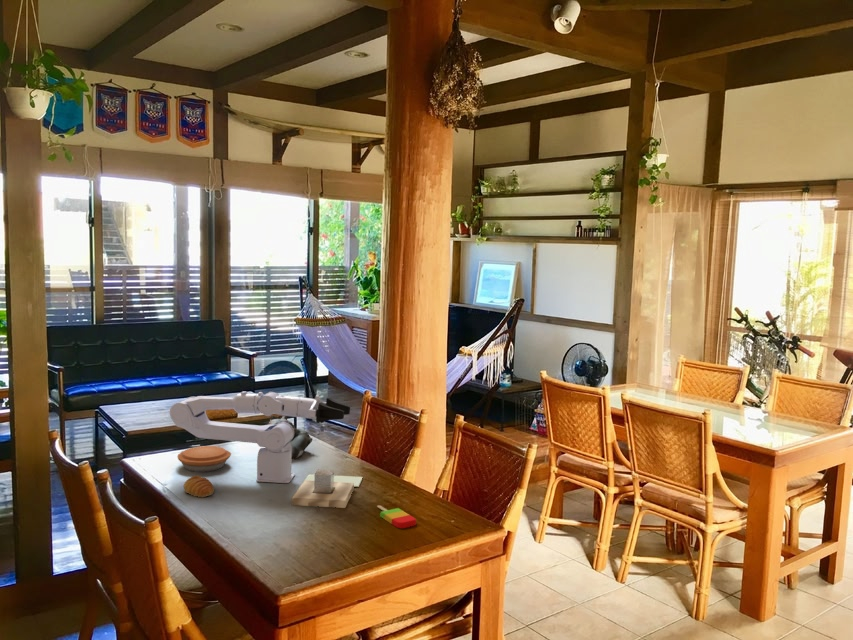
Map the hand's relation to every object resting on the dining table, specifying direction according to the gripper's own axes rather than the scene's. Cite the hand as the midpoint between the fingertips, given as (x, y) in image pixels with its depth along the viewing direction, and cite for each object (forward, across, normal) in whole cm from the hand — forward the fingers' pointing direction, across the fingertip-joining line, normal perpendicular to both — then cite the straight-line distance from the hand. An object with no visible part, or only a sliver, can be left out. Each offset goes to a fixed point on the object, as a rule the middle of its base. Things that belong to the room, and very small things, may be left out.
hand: (346, 412), depth 202 cm
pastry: (-36, -13, +24) cm, 45 cm away
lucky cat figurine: (-24, +25, +21) cm, 40 cm away
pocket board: (-2, -11, +22) cm, 24 cm away
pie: (-44, +8, +23) cm, 50 cm away
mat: (-3, +2, +21) cm, 21 cm away
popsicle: (+19, -21, +22) cm, 35 cm away
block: (-2, -11, +22) cm, 24 cm away
